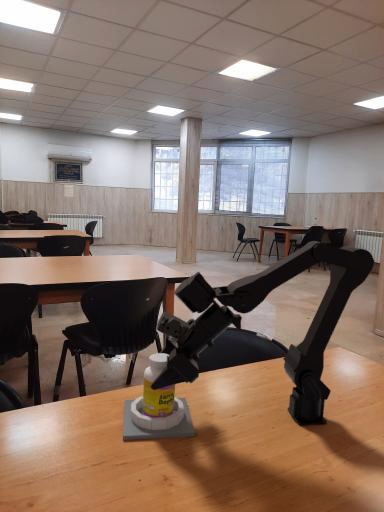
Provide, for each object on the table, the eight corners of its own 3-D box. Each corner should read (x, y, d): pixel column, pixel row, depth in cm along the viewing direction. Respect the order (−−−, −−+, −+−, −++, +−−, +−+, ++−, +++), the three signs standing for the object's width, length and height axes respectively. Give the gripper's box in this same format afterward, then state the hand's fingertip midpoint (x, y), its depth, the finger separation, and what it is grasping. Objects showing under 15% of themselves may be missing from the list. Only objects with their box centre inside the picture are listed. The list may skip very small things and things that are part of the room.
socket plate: (185, 400, 89) (185, 389, 89) (194, 436, 75) (195, 422, 75) (124, 403, 87) (124, 391, 86) (122, 439, 73) (123, 426, 73)
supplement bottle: (157, 427, 76) (159, 366, 75) (135, 414, 81) (137, 356, 79) (180, 415, 81) (182, 357, 80) (159, 403, 86) (161, 348, 84)
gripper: (178, 290, 88) (128, 336, 88) (183, 313, 69) (121, 370, 69) (210, 324, 89) (161, 369, 90) (224, 354, 71) (162, 411, 71)
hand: (152, 377), depth 80 cm, fingers open, 9 cm apart
